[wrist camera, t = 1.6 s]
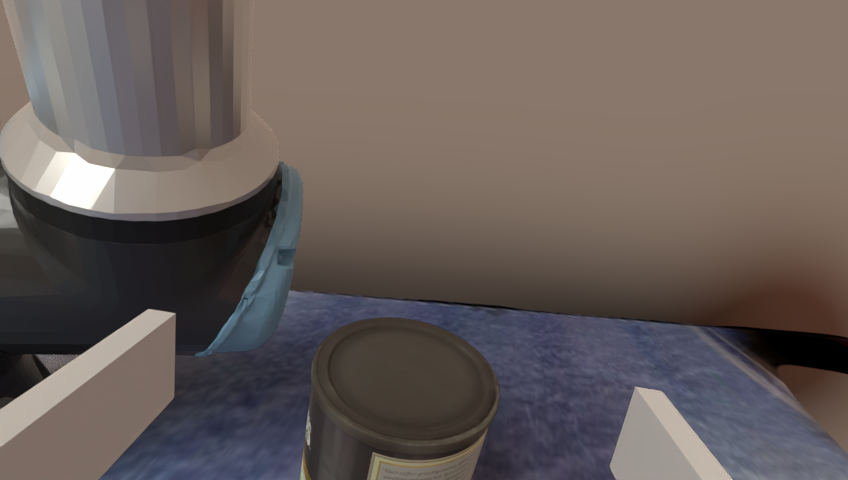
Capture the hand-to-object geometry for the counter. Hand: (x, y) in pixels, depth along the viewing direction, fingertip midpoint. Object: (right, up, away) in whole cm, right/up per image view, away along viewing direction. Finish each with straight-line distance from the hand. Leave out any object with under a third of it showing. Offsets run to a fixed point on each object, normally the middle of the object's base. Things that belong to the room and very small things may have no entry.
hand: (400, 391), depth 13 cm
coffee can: (-3, -16, +18) cm, 24 cm away
